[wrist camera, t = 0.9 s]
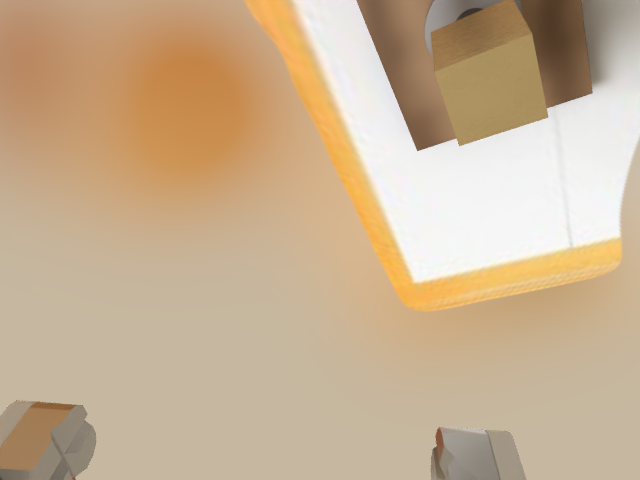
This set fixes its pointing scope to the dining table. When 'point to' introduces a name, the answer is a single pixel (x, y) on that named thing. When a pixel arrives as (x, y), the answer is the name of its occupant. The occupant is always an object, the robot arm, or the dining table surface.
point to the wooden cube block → (488, 72)
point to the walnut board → (447, 7)
